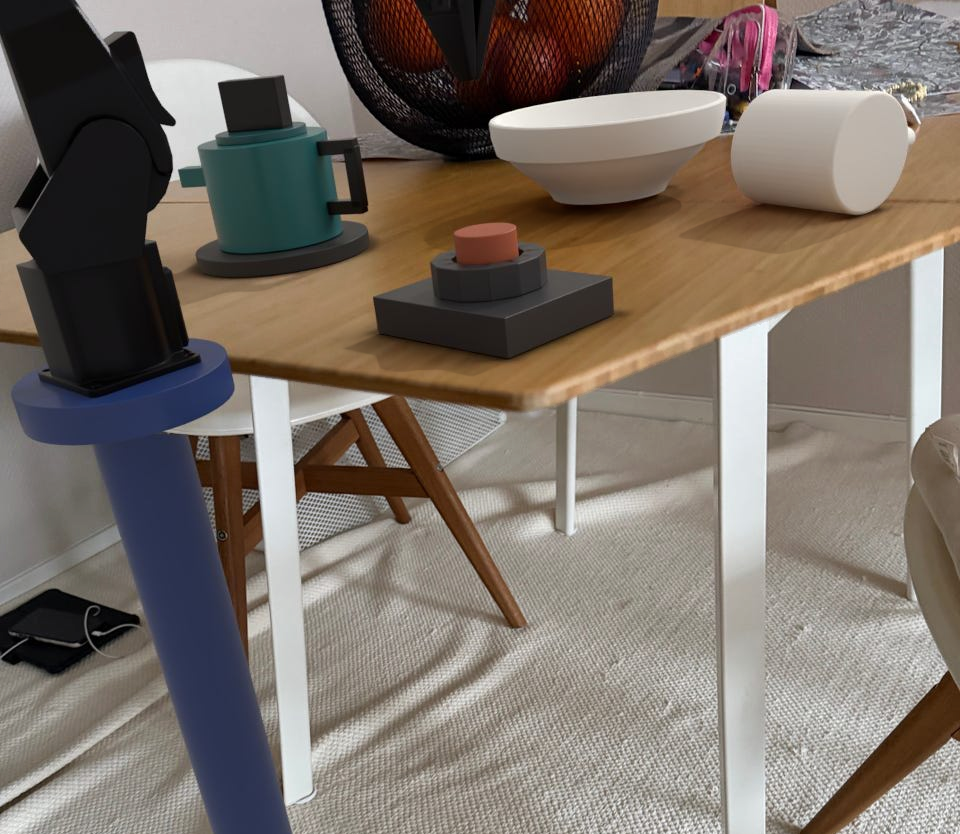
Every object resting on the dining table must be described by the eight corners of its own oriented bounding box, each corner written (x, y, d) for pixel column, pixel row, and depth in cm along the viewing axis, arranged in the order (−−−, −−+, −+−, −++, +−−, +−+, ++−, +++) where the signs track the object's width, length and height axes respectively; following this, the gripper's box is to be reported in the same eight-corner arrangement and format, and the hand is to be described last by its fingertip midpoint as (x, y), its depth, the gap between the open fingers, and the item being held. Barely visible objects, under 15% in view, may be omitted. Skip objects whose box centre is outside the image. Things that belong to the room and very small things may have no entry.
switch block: (614, 314, 64) (611, 243, 62) (508, 359, 59) (501, 283, 57) (482, 295, 71) (476, 231, 69) (378, 333, 66) (367, 265, 64)
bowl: (701, 219, 83) (701, 116, 79) (464, 228, 90) (453, 134, 86) (742, 171, 98) (743, 83, 95) (536, 182, 105) (530, 100, 101)
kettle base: (263, 284, 80) (260, 268, 80) (166, 268, 89) (162, 253, 89) (405, 241, 88) (403, 225, 88) (302, 230, 97) (299, 215, 97)
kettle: (164, 255, 87) (123, 95, 81) (231, 227, 95) (199, 78, 89) (341, 251, 81) (311, 77, 75) (397, 221, 89) (375, 61, 83)
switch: (531, 256, 63) (529, 224, 62) (488, 271, 61) (484, 238, 60) (487, 251, 65) (484, 220, 64) (444, 265, 63) (440, 234, 62)
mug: (827, 225, 77) (834, 100, 73) (728, 211, 85) (729, 97, 80) (940, 193, 82) (953, 74, 78) (837, 182, 89) (844, 74, 85)
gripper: (392, -365, 40) (445, 108, 48) (697, -331, 50) (698, 52, 58) (224, -290, 47) (295, 109, 55) (521, -275, 57) (544, 59, 65)
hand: (469, 81), depth 58 cm, fingers closed
